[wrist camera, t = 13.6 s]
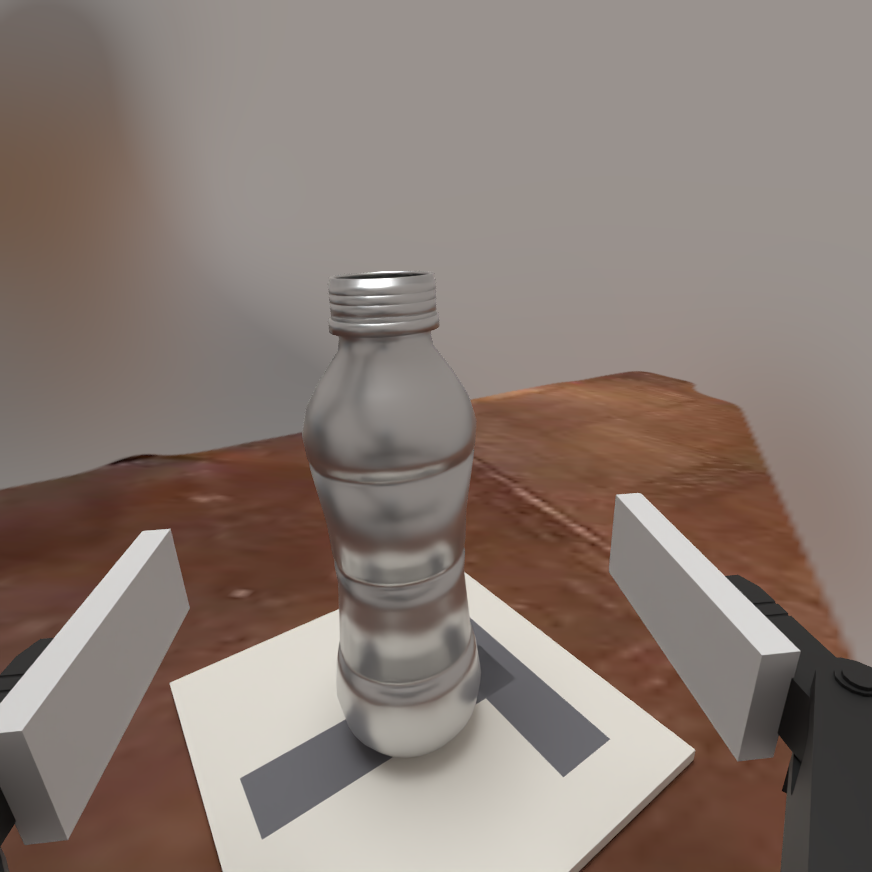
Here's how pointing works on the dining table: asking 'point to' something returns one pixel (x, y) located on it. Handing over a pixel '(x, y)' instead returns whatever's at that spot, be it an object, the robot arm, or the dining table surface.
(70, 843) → the dining table surface
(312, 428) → the plastic bottle
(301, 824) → the letter board
